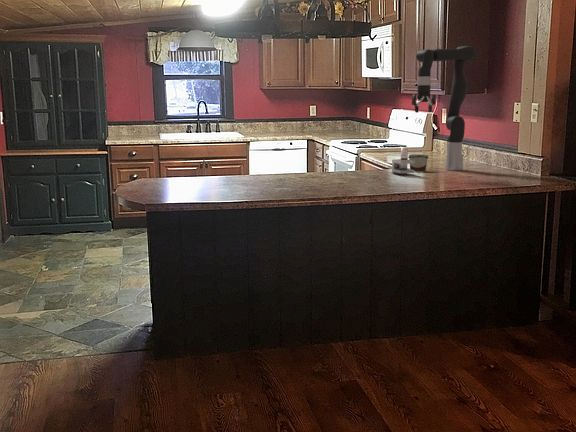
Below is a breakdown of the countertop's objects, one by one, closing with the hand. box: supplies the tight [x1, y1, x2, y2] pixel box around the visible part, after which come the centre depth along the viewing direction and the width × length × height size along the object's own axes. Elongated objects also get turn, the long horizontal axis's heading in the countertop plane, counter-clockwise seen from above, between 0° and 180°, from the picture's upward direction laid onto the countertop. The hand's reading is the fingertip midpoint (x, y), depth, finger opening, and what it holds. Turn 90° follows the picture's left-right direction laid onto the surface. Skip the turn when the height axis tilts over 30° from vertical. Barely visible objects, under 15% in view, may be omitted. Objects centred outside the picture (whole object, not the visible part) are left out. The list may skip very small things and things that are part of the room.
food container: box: [408, 153, 430, 172], centre depth 400 cm, size 12×6×10 cm, turn 84°
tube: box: [399, 147, 409, 176], centre depth 381 cm, size 4×4×16 cm
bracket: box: [390, 158, 415, 175], centre depth 384 cm, size 9×13×8 cm
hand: (423, 112), depth 384 cm, fingers open, 8 cm apart
